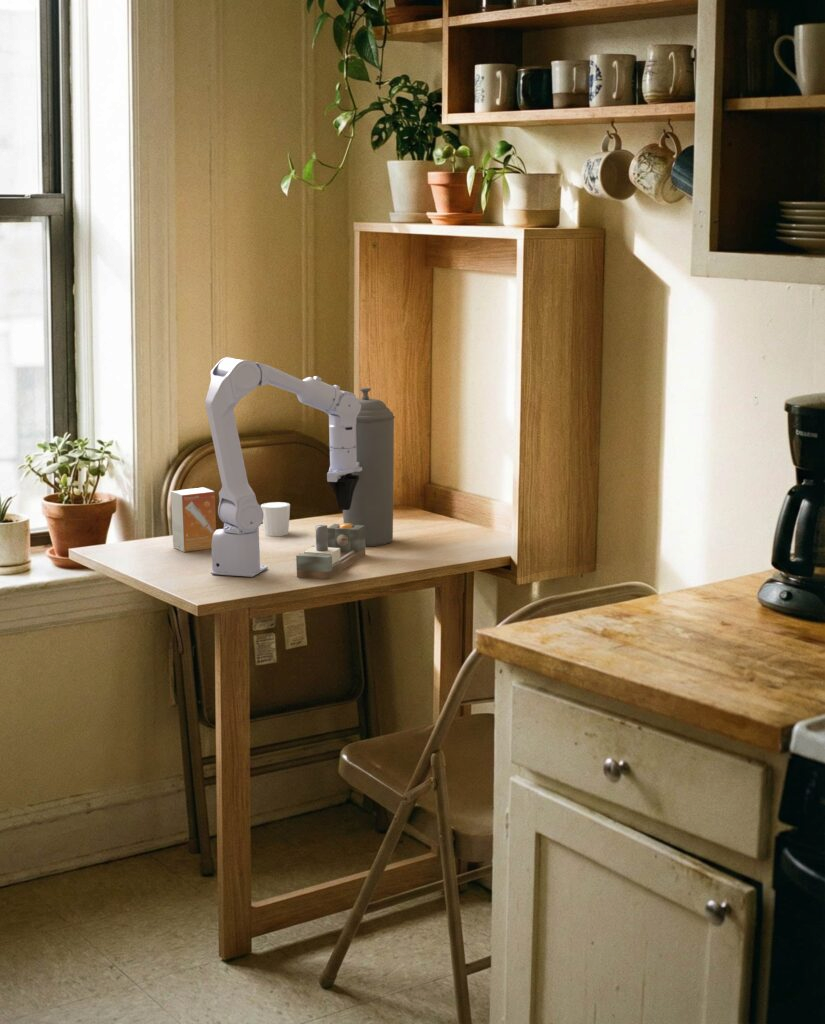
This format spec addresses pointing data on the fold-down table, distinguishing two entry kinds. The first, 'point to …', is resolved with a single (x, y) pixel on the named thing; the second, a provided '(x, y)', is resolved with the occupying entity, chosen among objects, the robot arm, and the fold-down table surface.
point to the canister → (373, 472)
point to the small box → (193, 518)
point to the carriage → (323, 545)
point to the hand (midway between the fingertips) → (344, 509)
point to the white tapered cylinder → (276, 518)
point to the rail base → (322, 565)
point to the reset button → (346, 525)
